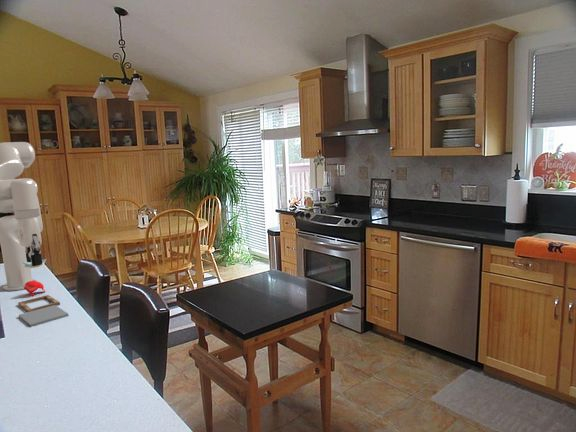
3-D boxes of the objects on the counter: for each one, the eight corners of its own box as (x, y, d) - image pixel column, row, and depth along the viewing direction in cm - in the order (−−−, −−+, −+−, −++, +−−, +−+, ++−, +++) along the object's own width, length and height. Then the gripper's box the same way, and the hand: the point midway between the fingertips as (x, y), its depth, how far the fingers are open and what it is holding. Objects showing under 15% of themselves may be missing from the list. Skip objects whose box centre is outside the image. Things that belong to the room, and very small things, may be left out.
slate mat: (19, 316, 154) (18, 314, 154) (55, 307, 162) (54, 304, 162) (30, 326, 144) (30, 324, 144) (68, 315, 153) (68, 313, 152)
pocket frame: (18, 304, 167) (18, 302, 166) (48, 297, 174) (47, 294, 174) (28, 313, 157) (28, 310, 157) (60, 304, 165) (59, 302, 164)
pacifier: (22, 267, 157) (24, 269, 152) (20, 250, 156) (21, 252, 151) (45, 263, 161) (47, 265, 156) (43, 246, 160) (45, 248, 155)
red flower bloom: (25, 291, 173) (39, 280, 176) (19, 284, 176) (32, 274, 179) (37, 302, 179) (50, 291, 181) (30, 295, 182) (43, 285, 184)
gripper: (8, 214, 156) (16, 263, 159) (22, 217, 144) (30, 270, 147) (31, 211, 161) (38, 258, 164) (46, 214, 150) (54, 265, 152)
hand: (34, 263), depth 156 cm, fingers closed on pacifier, 5 cm apart
